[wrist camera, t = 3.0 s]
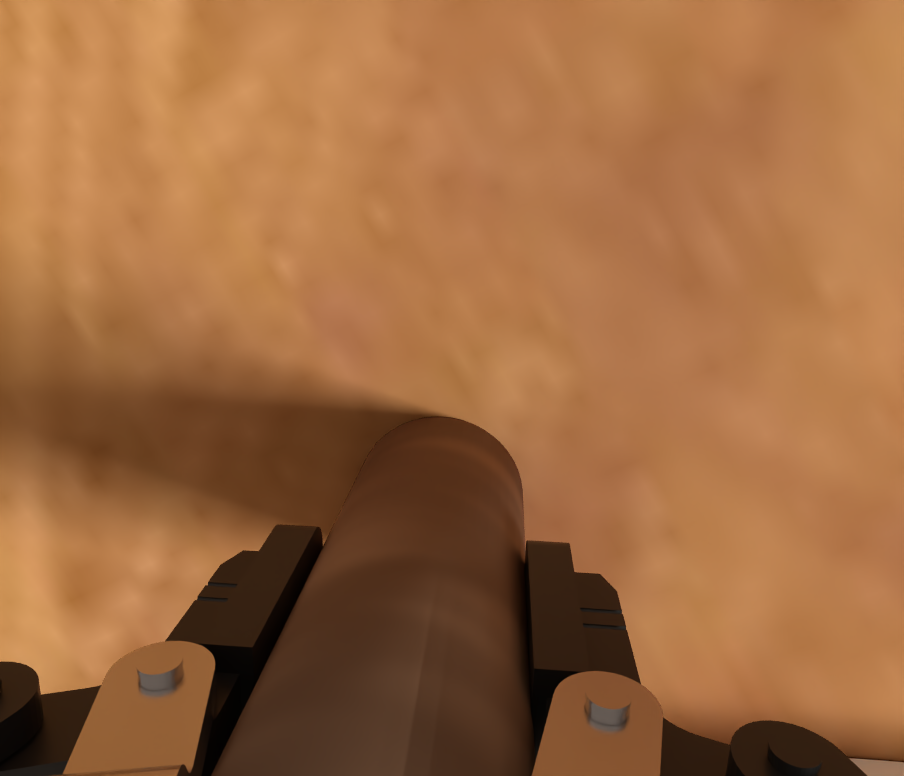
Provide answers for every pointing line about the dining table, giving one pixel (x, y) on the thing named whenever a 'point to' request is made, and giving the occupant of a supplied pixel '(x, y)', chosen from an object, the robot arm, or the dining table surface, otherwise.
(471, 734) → the walnut dowel
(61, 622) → the dining table surface
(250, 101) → the dining table surface
